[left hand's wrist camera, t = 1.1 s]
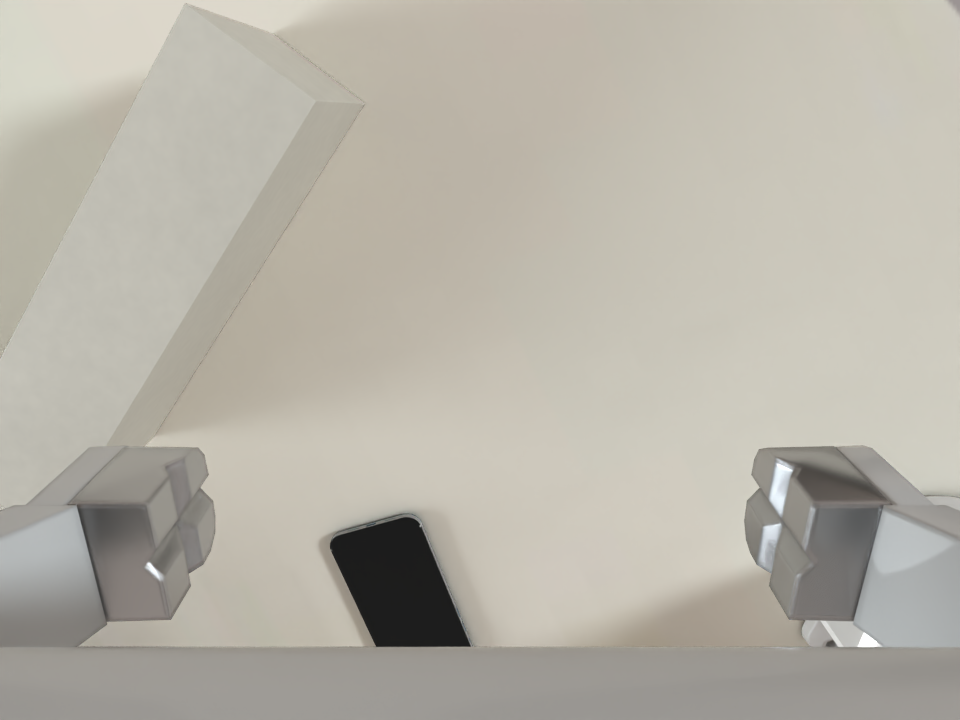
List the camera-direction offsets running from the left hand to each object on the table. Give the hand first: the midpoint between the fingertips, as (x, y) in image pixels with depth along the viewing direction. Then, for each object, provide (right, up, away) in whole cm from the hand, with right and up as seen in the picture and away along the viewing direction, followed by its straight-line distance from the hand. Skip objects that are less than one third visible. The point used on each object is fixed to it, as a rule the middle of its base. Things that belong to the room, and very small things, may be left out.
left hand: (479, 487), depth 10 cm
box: (-18, +9, +34) cm, 40 cm away
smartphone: (-6, -17, +43) cm, 47 cm away
